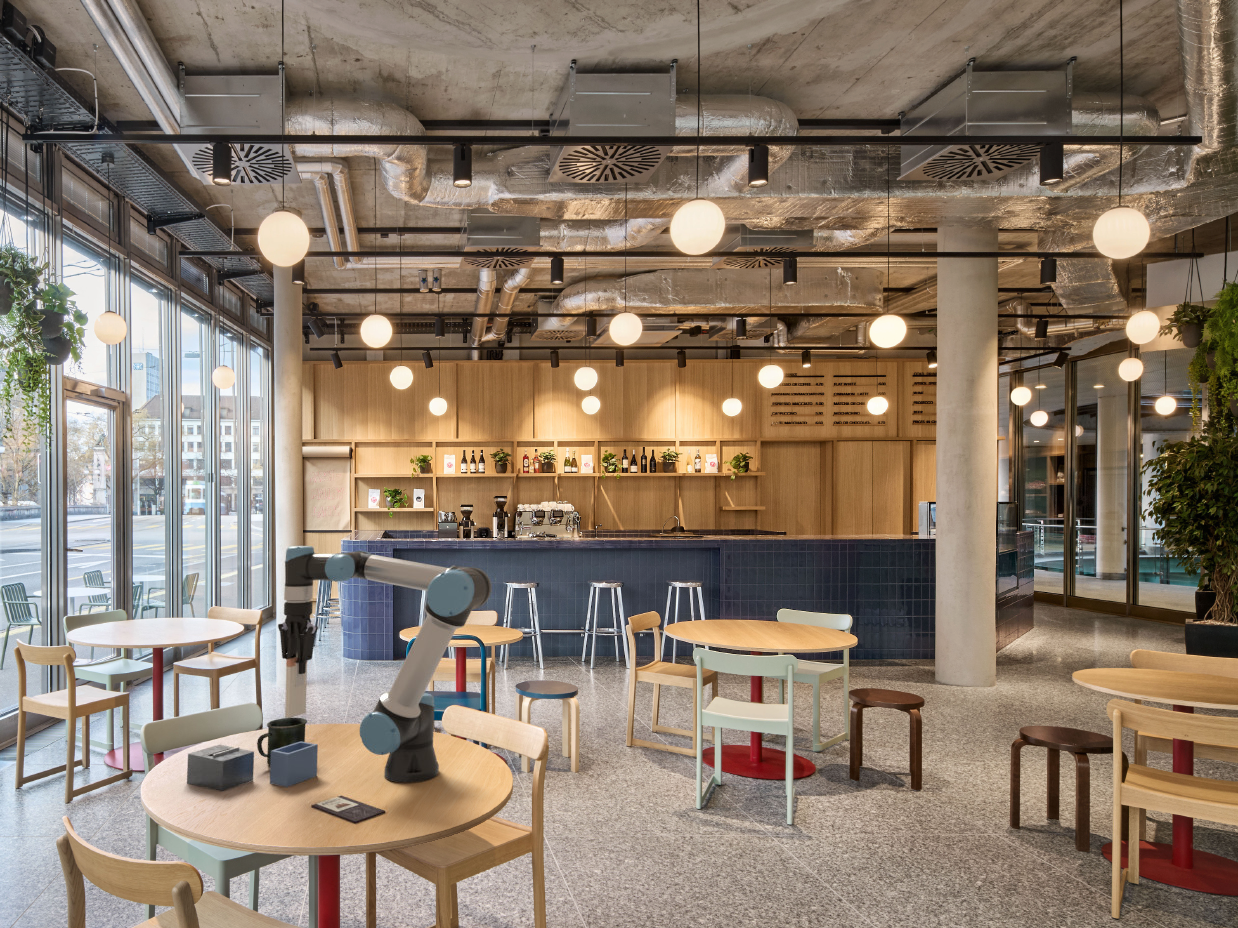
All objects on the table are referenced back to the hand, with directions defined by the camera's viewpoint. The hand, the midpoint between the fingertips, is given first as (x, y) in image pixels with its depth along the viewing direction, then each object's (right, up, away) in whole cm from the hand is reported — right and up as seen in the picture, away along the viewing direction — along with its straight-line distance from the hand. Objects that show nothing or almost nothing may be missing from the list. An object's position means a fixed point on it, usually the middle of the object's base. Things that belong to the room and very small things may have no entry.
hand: (296, 684), depth 233 cm
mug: (-9, -27, +12) cm, 31 cm away
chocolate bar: (+22, -26, -24) cm, 42 cm away
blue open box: (0, -26, -1) cm, 26 cm away
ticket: (0, -8, 0) cm, 8 cm away
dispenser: (-19, -26, -4) cm, 33 cm away
